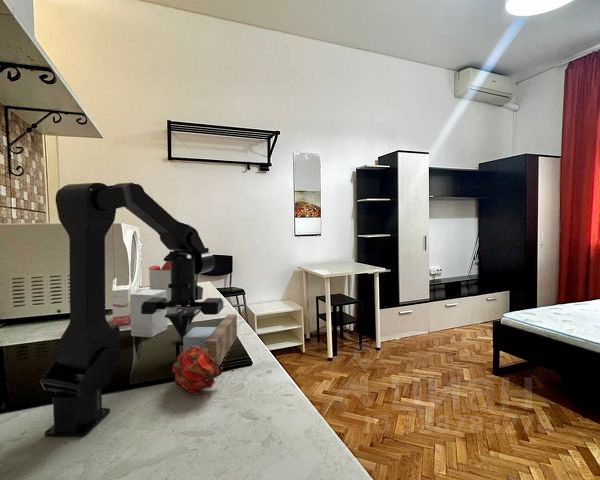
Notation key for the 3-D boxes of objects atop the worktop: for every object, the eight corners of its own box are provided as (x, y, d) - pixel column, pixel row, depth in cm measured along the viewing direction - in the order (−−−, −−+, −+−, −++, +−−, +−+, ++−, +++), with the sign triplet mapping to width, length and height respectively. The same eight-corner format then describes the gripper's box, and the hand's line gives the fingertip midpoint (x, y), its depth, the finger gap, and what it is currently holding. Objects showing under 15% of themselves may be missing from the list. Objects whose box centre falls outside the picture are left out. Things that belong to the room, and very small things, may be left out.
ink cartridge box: (130, 323, 100) (128, 280, 99) (112, 326, 98) (111, 281, 97) (132, 316, 108) (130, 276, 107) (116, 318, 106) (114, 277, 105)
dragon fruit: (185, 380, 66) (213, 412, 58) (153, 370, 61) (179, 403, 52) (208, 345, 69) (237, 370, 60) (179, 332, 63) (207, 358, 55)
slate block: (212, 361, 72) (212, 337, 72) (183, 361, 72) (183, 337, 72) (220, 349, 79) (220, 327, 79) (194, 349, 79) (193, 327, 79)
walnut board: (216, 372, 67) (216, 341, 67) (205, 372, 67) (205, 341, 67) (237, 338, 87) (236, 314, 87) (228, 338, 87) (228, 314, 87)
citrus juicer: (183, 301, 129) (182, 255, 128) (199, 310, 116) (198, 258, 115) (143, 308, 119) (142, 257, 118) (156, 318, 106) (154, 261, 105)
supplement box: (152, 338, 87) (151, 295, 87) (130, 336, 89) (128, 294, 88) (168, 329, 95) (167, 289, 94) (147, 327, 96) (146, 288, 96)
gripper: (228, 272, 83) (229, 328, 83) (160, 272, 83) (162, 328, 84) (216, 280, 71) (217, 344, 72) (138, 280, 72) (140, 344, 72)
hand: (184, 339), depth 75 cm, fingers closed
